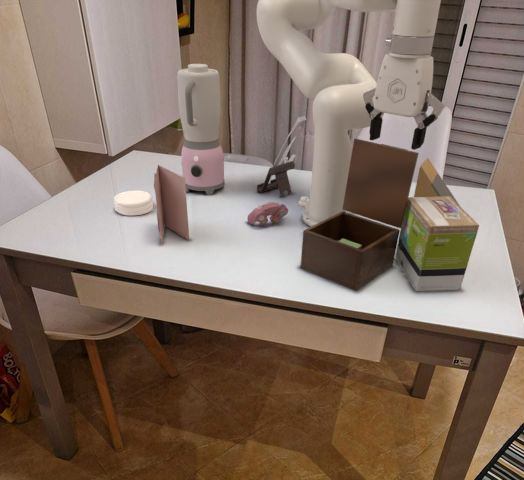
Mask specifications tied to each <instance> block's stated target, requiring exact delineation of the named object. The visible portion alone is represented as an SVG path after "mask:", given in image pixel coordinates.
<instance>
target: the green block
mask: <svg viewBox="0 0 524 480" xmlns="http://www.w3.org/2000/svg"><path fill="white" fill-rule="evenodd" d="M339 242H342V243H344V244H347V245H350V246H353V247H355V248H358V249H361V250H362V245H360V244H357V243H354V242H352V241H349V240H346V239H341V240H339Z"/></svg>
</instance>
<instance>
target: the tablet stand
mask: <svg viewBox="0 0 524 480" xmlns="http://www.w3.org/2000/svg"><path fill="white" fill-rule="evenodd" d="M295 167H296V164H295V162H294V161H292V160H291V161H287V162H284V163H281V164H278V165H275V166H271V167H269V169H268V171H267V174H266V176H265V179H264V182H261V183H259V184H257V185H256V191H257V192H258V193H259V194H261V193H265V192H266V191H269V190H272V189H276V188H277V189H278V193H279V196H280V197H281V198H284V197H285V192H287V195H291V194H292V187H291V184H290V180H289V175H288V171H291V170H294V169H295ZM272 176H274V177H275V178H273V179H272Z"/></svg>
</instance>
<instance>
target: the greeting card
mask: <svg viewBox="0 0 524 480" xmlns="http://www.w3.org/2000/svg"><path fill="white" fill-rule="evenodd" d="M153 189H154V193H155V194H154V195H155V202H156V215H157V216H156V218H157V219H156V220H157V228H158V232H159V237H160V245H163V237H164V231H165V227H167V228H168V229H170V230H172V231H173V232H175V233H177V234H178V235H180V236H182V237H183V238H184V239H186V240H188V241H190V228H189V216H188V202H187V191H186V187H185V178H184V177H183V175H180V174H178V173H176V172H174V171H172V170H170V169H168V168H166V167H163V166H161V165H160V164H157V167H156V171H155V173H154V177H153Z"/></svg>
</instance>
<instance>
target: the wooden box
mask: <svg viewBox="0 0 524 480" xmlns="http://www.w3.org/2000/svg"><path fill="white" fill-rule="evenodd" d="M400 230H401V229H400V228H397V227H394V226H391V225H388V224H385V223H382V222H379V221H375V220H372V219H369V218H366V217H363V216H360V215H357V214H354V213H351V212H348V211H346V212H344V211H342V212H340V213H338V214H336V215H334V216H332V217H330V218H328V219H326V220H324V221H322V222H320V223H318V224H316V225H313V226H309V227H308V228H305V229H303V231H302V243H301V244H302V245H301V257H300V258H301V259H300V269H303V270H305V271H307V272H309V273H312V274H315V275H316V276H318V277H322V278H325V279H327V280H329V281H331V282H333V283H336V284H338V285H341V286H343V287H346V288H348V289H350V290H353V291H355V292H358V291H359V290H361V289H362V288H364V287H365V286H367V285H368V284H370V283H371V282H372V281H374V280H376V279H378V278H379V277H380V276H381V275H383V274H384V273H386V272H387V271H389V270H390V269H392V268H393V267H394V263H395V258H396V257H395V256H396V250H397V245H398V240H399V234H400ZM341 239H346V240H349V241H352V242H354V243H357V244H360V245H362V250H361V249H358V248H355V247H353V246H350V245H347V244H344V243H342V242H339V240H341Z"/></svg>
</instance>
